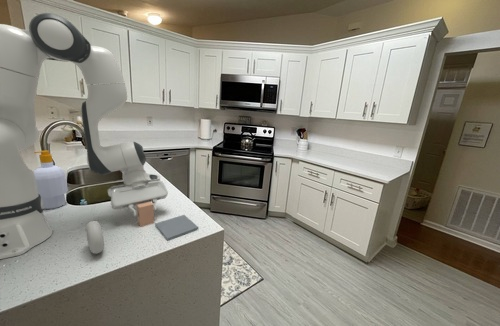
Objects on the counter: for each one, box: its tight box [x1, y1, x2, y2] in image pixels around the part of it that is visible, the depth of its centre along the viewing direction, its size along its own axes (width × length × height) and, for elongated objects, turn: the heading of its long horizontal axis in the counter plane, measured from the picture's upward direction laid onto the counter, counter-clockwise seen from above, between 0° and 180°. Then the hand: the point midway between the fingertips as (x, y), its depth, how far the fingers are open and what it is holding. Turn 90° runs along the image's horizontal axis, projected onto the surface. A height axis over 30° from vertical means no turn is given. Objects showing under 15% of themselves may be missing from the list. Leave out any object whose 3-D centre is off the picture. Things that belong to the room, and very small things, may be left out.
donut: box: [85, 220, 105, 255], centre depth 64 cm, size 10×3×10 cm, turn 45°
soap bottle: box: [32, 149, 69, 210], centre depth 87 cm, size 10×10×24 cm
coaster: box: [154, 214, 199, 242], centre depth 80 cm, size 12×12×1 cm
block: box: [136, 202, 155, 227], centre depth 81 cm, size 5×3×8 cm, turn 133°
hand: (145, 213), depth 81 cm, fingers closed on block, 5 cm apart
